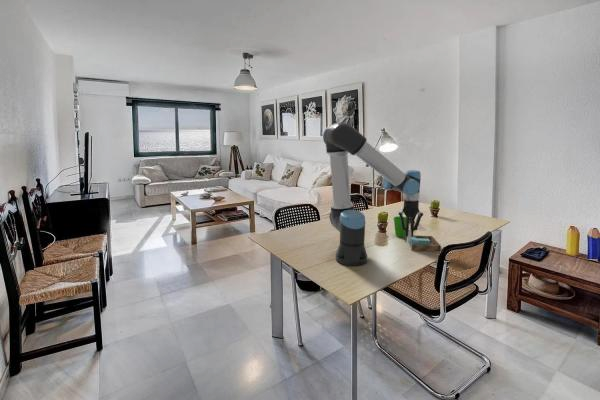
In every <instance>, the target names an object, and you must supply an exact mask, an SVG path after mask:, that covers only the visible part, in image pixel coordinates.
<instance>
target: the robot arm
mask: <svg viewBox="0 0 600 400" xmlns="http://www.w3.org/2000/svg"><path fill="white" fill-rule="evenodd" d="M322 139H323V142H324V144H325V150H326V154H327V155H328V156H329V160H330V175H331V187H332V188H331V189H332V200H333V201H332V204H331V205H330V213H329V222H330V223H331V226H333V227H334V228H335V230H336V231H338V232H339V245H338V247H337V251H336V254H335V261H336V262H337V263H339V264H341V265H344V266H350V267H351V266H352V267H353V266H354V267H356V266H357V267H359V266H363V265H365V264H367V263H368V258H369V257H368V254H367V253H368V252H367V249H366V247H365V237H366V236H365V234H366V216H365V214H364V213H363V212H362V211H359V210H355V206H354V203H353V202H352V201H351V191H350V173H349V160H348V156H349V155H348V154H350V155H351V156H356V157H358V158H359V159H361V161H363V162H364V163H365V164H366V165H367V166H369V167H370V168H371V169H373V170H374V171H375V173H377V174H379V175H380V176H381V177H382V187H383V189H385V190H387V191H388V190H389V191H397V192H400V193H402V194H404V197H403V207H402V210H400V211H398V212H397V214H398V216H400V220H401V225H402V229H403V230H405V236H404V237H405V238H406V237H407V241H406V243H407V244H409V243H411V237H413V235H414V232H415V231H417V230H418V228H419V226H420V222H421V220H422V217H423V216H424V213H423V212H422V211H420V209H419V205H420V201H419V200H420V190H421V189H420V188H421V179H422V178H421V171H420V170H416V169H409V170H408V169H407V170H406V171H405V172H404V171H402V170H401V169H400V168H399V167H397V166H396V165H395V164H394V163H393V162H391V161H390V160H389V159H388V158H387V157H386V156H384V155H383V154H382V153H381V152H379V150H377V149H376V148H375V147H374V146H373V145H371V144H370V143H369V142H368V139H367V138H366V137H365V136H364V135H363V134H361V133H360V131H358V130H357V129H356V128H355V127H354V126H352V125H351V124H349V123H347V122H346V123H345V122H339V123H338V122H337V123H332V124H330V125H328V126H327V127H326V128H325V129H324V130H323V134H322ZM403 215H405V217H406V228H405V225H404V220H403V217H404V216H403ZM416 216H417V217H416ZM415 217H416V220H415Z"/></svg>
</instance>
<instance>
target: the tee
mask: <svg viewBox="0 0 600 400" xmlns="http://www.w3.org/2000/svg"><path fill="white" fill-rule="evenodd" d="M415 236H416V235H415ZM415 236H413V237H411V243H408V244H409V246H410V248H411V247H412V244H418V245H431V242H430V240H429V239H422V238H416V237H415Z"/></svg>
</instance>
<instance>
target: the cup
mask: <svg viewBox="0 0 600 400" xmlns="http://www.w3.org/2000/svg"><path fill="white" fill-rule="evenodd" d="M392 219H393V225H394V231H395V233H394V235H395V237H396V238H402V239H403V238H405V237H406V236H405V230H403V229H402V225H401V220H400V215H398V216H394V217H393V218H392ZM403 220H404V225H405V228H406V216H403Z"/></svg>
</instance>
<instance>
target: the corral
mask: <svg viewBox="0 0 600 400" xmlns="http://www.w3.org/2000/svg"><path fill="white" fill-rule="evenodd" d="M413 236H415V237H416V238H422V239H429V240H430V245H418V244H412V247H411V246H410V248H411V249H410V250H411V251H414V252H415V251H416V252H438V253H439V252H441V250H442V249H441V248H442V245H440V243H439V242H438V241H437V240H436V239H435V237H434V236H433V235H414V234H413ZM405 242H407V237H406V236H405Z"/></svg>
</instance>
